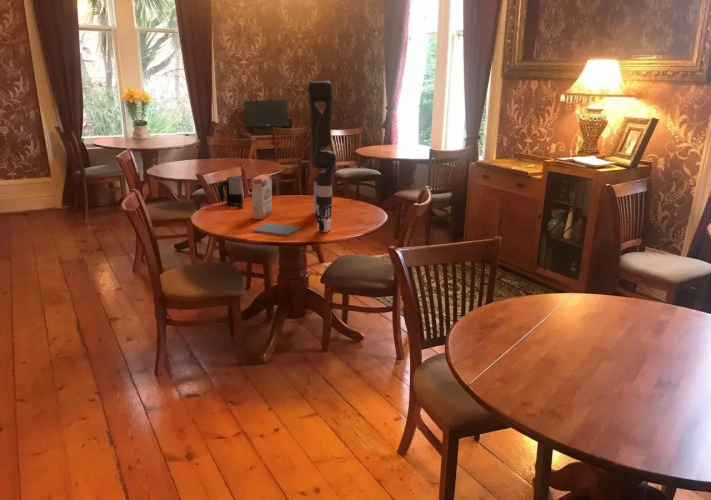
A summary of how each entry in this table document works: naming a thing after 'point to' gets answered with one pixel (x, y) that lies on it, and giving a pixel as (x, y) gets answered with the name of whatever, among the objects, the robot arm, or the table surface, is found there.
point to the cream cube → (325, 225)
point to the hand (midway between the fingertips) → (323, 229)
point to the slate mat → (277, 229)
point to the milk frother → (232, 191)
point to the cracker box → (262, 196)
